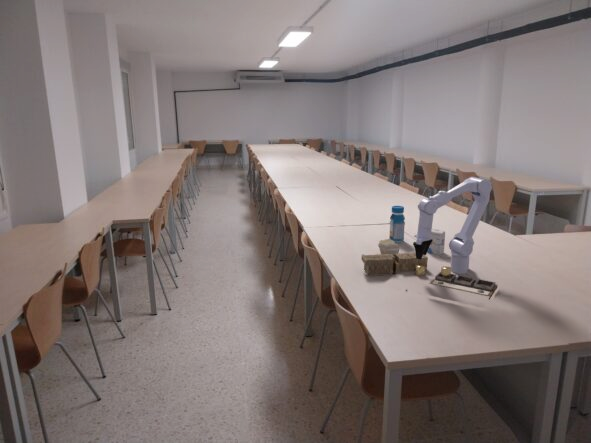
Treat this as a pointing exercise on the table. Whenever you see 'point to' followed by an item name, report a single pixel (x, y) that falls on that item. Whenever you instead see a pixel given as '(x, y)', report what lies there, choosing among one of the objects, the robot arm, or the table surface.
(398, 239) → the beverage bottle
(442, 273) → the placed peg
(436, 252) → the ink box
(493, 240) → the table surface
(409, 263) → the block tower
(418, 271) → the brass peg
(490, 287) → the board
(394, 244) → the fossil replica
